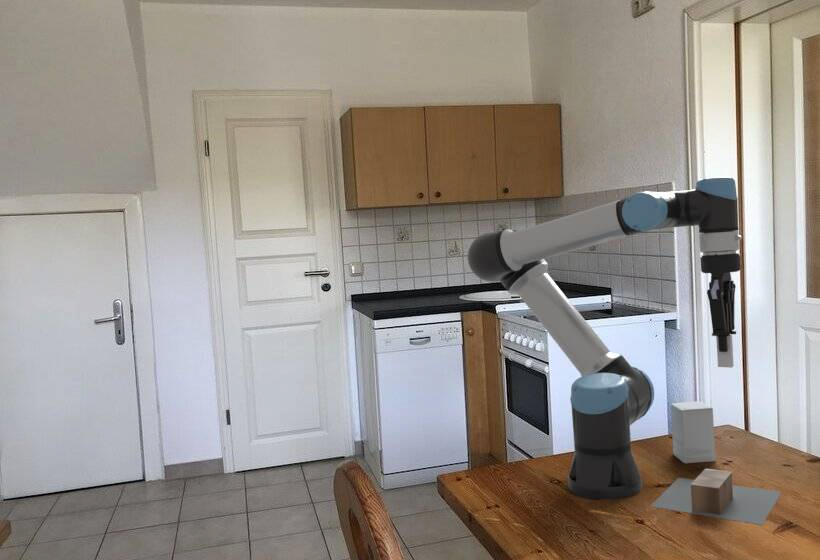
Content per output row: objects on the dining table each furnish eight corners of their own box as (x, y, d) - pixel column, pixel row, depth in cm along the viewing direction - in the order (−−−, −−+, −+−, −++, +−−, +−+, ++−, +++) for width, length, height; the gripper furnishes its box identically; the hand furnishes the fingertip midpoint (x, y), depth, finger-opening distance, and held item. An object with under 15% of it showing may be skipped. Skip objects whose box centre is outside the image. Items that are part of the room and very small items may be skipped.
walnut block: (706, 493, 144) (692, 510, 136) (705, 468, 144) (690, 484, 136) (733, 496, 141) (719, 514, 133) (731, 471, 141) (718, 488, 133)
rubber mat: (650, 508, 140) (650, 506, 140) (678, 479, 154) (678, 477, 154) (762, 527, 128) (762, 524, 128) (782, 493, 142) (781, 491, 142)
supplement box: (716, 462, 163) (713, 407, 162) (683, 465, 163) (680, 410, 162) (703, 453, 170) (701, 400, 169) (672, 455, 170) (669, 402, 170)
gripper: (731, 254, 140) (737, 373, 141) (746, 250, 150) (752, 361, 152) (691, 255, 145) (697, 371, 146) (709, 252, 155) (715, 360, 156)
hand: (725, 366), depth 149 cm, fingers closed
